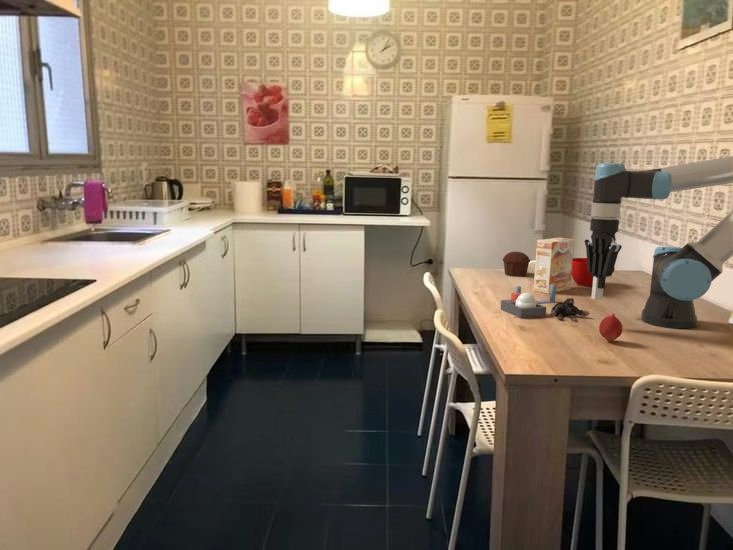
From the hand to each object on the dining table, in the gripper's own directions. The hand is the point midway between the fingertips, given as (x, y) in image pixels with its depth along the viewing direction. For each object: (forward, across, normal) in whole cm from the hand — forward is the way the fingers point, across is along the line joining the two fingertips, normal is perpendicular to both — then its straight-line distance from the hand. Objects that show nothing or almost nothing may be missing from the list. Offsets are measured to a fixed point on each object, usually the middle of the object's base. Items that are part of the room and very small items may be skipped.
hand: (596, 298), depth 171 cm
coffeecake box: (+9, +48, -19) cm, 52 cm away
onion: (+9, -14, +7) cm, 18 cm away
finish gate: (+9, +31, 0) cm, 32 cm away
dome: (+8, +18, +12) cm, 23 cm away
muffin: (+9, +79, -23) cm, 83 cm away
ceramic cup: (+9, +52, -40) cm, 66 cm away
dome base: (+9, +20, +12) cm, 24 cm away
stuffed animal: (+9, +12, -1) cm, 15 cm away
